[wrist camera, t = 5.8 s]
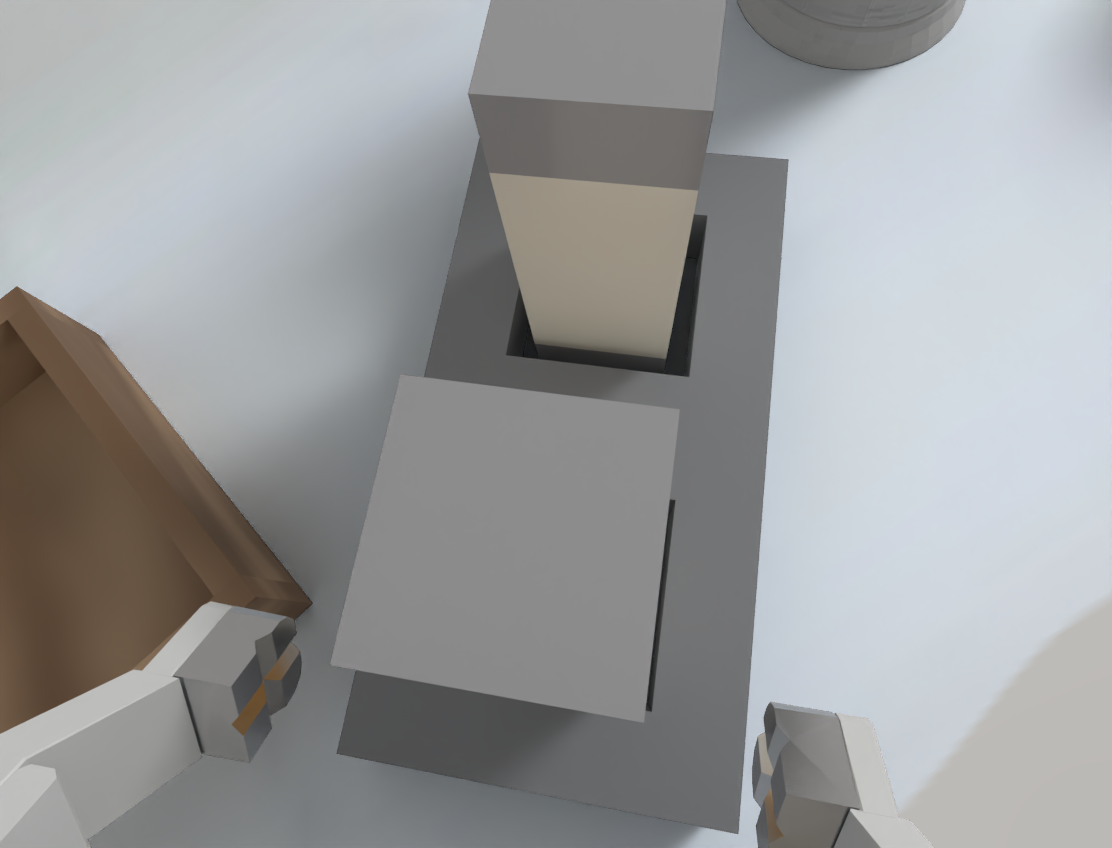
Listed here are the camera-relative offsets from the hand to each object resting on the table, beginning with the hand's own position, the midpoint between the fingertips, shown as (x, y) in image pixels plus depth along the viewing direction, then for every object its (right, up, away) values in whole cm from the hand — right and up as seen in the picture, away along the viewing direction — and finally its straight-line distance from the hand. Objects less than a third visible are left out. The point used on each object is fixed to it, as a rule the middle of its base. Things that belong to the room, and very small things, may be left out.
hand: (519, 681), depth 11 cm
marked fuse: (+1, -1, +9) cm, 9 cm away
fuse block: (+2, +4, +10) cm, 11 cm away
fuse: (+2, +8, +11) cm, 14 cm away
